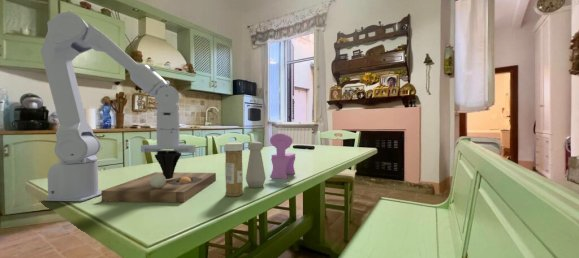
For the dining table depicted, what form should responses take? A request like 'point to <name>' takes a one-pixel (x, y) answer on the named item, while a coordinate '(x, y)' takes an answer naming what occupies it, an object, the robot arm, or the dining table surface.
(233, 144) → the spice jar
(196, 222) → the dining table surface
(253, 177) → the salt shaker
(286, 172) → the toy chair
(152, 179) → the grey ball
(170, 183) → the board
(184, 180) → the orange ball
